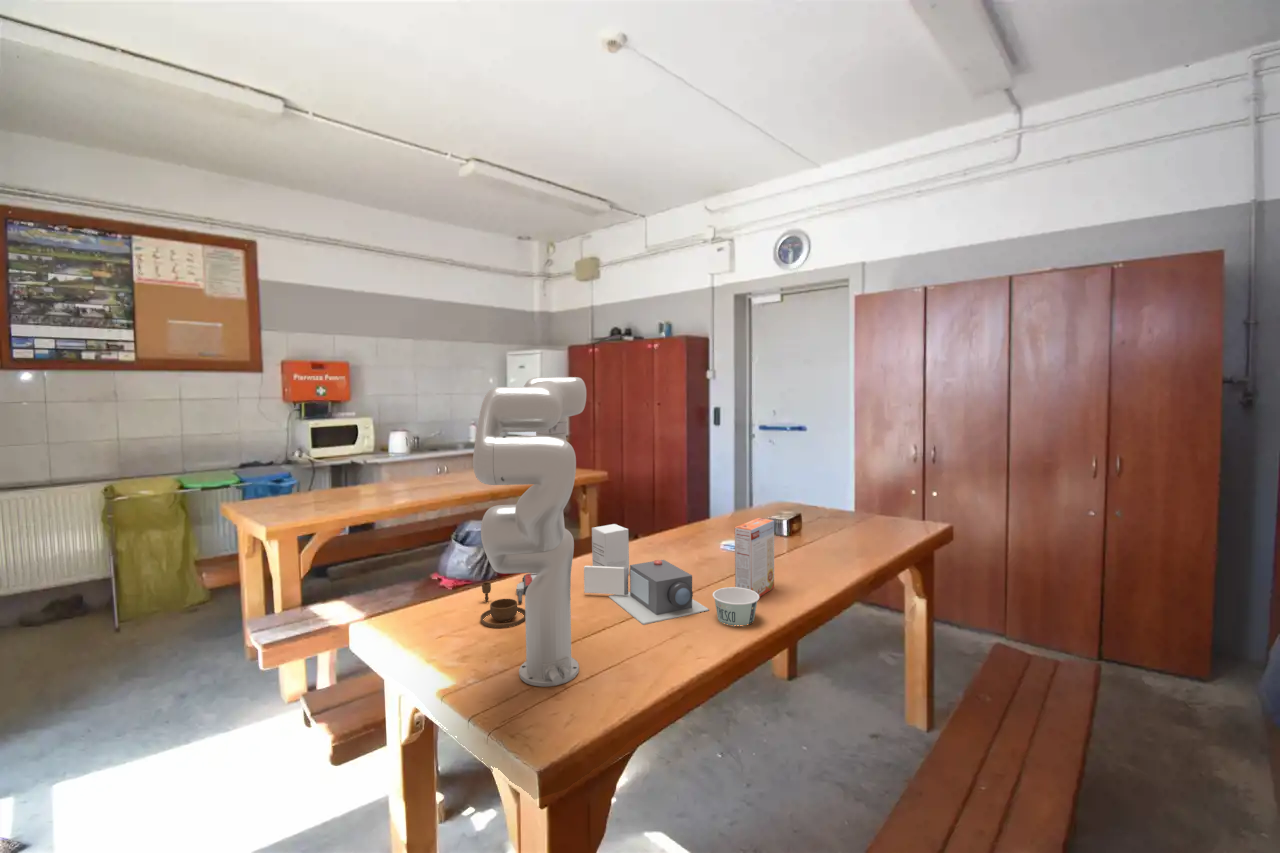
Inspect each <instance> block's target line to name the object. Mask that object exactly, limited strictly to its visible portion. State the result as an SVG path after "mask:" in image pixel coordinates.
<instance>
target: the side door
mask: <svg viewBox="0 0 1280 853" xmlns="http://www.w3.org/2000/svg"><path fill="white" fill-rule="evenodd" d="M583 580H584V581H583V585H584V586H583V589H584V590H583V592H584V594H585V593H586V594H604V595H606V594H607V595H614V594H622V595H628V592H629V574H628V568H627V567H605V566H593V565H584V567H583Z"/></svg>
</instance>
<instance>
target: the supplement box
mask: <svg viewBox="0 0 1280 853" xmlns="http://www.w3.org/2000/svg"><path fill="white" fill-rule="evenodd" d="M629 543H630V542H629V528H626V527H624V526H621V525H618V524H617V523H612V524H606V525H601V526H600V525H599V526H596V527H594V526H593V527H591V550H592V552H591V553H592V554H591V556H592V566H605V567H627V568H628V575H630V552H629V551H630V548H629V547H630V546H629V545H630V544H629Z"/></svg>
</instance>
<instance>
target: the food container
mask: <svg viewBox="0 0 1280 853" xmlns="http://www.w3.org/2000/svg"><path fill="white" fill-rule="evenodd" d="M712 598H713V599H714V603H715V609H716V615H717V620H718V622H719V623H721V622H722V623H721V624H723V623H725V624H728V625H733V626H732V627H735V626H734V625H736V626H737V625H739V626H740V625H747V624H750V623H752V622H753V621H754V622H755V615H756V611H757V610H756V609H757V604H758V601H759V599H760V597H759V595H758V594H757V593H756V592H754V591H752V590H749V589H745V588H739V587H735V586H729V587H721V588H719V589H716V590H715V591H713V592H712ZM754 622H753V623H754ZM753 623H752V624H753ZM725 624H724V625H725ZM728 625H727V626H728ZM750 625H751V624H750Z"/></svg>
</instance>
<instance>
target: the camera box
mask: <svg viewBox="0 0 1280 853" xmlns="http://www.w3.org/2000/svg"><path fill="white" fill-rule="evenodd" d="M629 586H630V587H629V588H630V589H629V591H628V595H622V594H608V598H609V599H610V600H611V601H613V602H615V603H616V605H617V606H619V607H620V608H622V609H623V610H624V611H625V612H627V613H628V615H630V616H632V617H633V618H634V619H635V620H637V621H638V622H639V623H640V624H642V626H645V625H649V624H653V623H658V622H662V621H667V620H671V619H677V618H681V617H686V616H691V615H695V614H699V613H700V612H701V613H705V612H710V609H709V608H708V607H707V606H704V605H703V604H701V603H700V602H698V601H697V600H695V599H693V596H694V595H693V594H694V592H693V575H692V574H691V573H688V572H687V571H685V570H684V569H681V567H678V566H676V565H674V564H673V563H670V562H669V561H667V560H665V559H656V560H654V561H647V562H641V563H635V564H629ZM704 611H705V612H704ZM701 613H700V614H701Z"/></svg>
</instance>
